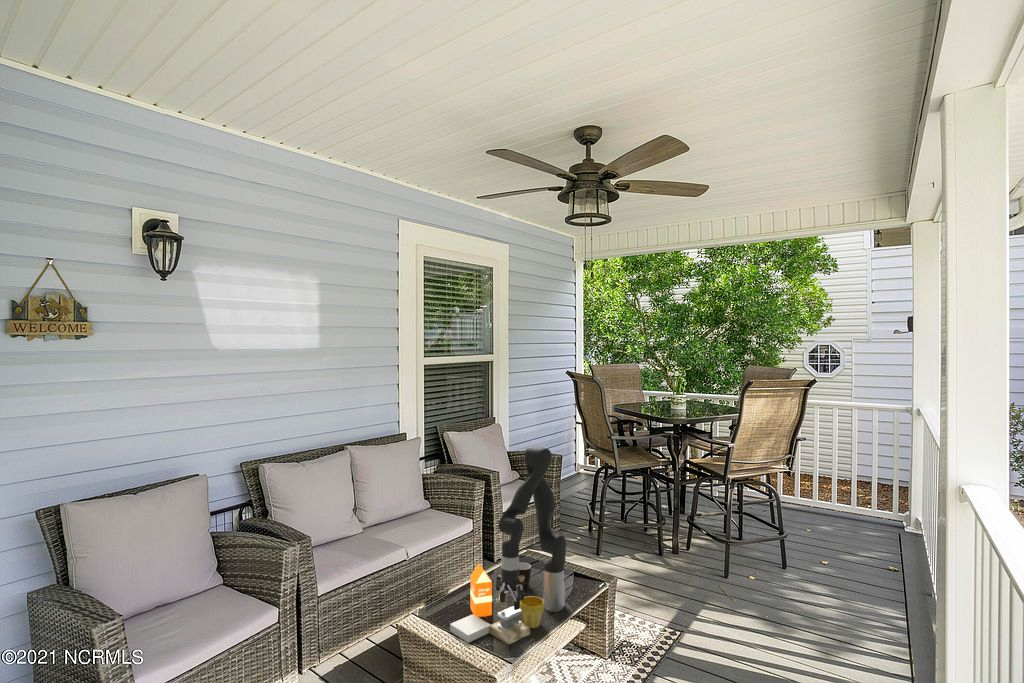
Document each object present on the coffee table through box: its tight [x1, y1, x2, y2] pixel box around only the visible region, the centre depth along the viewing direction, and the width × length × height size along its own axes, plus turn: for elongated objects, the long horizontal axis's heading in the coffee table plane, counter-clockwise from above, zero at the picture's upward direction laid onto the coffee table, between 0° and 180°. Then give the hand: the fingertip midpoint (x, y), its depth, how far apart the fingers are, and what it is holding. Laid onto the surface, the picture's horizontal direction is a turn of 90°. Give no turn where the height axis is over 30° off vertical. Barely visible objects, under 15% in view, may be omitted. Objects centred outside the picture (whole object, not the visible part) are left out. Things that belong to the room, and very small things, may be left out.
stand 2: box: [488, 620, 531, 646], centre depth 221 cm, size 12×12×3 cm
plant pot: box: [519, 595, 545, 629], centre depth 228 cm, size 10×10×10 cm
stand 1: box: [449, 613, 491, 643], centre depth 222 cm, size 12×12×3 cm
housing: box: [497, 605, 523, 632], centre depth 221 cm, size 9×5×6 cm, turn 133°
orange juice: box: [469, 562, 493, 618], centre depth 239 cm, size 8×9×20 cm
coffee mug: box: [518, 562, 532, 590], centre depth 265 cm, size 12×9×10 cm
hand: (509, 605), depth 221 cm, fingers open, 8 cm apart
